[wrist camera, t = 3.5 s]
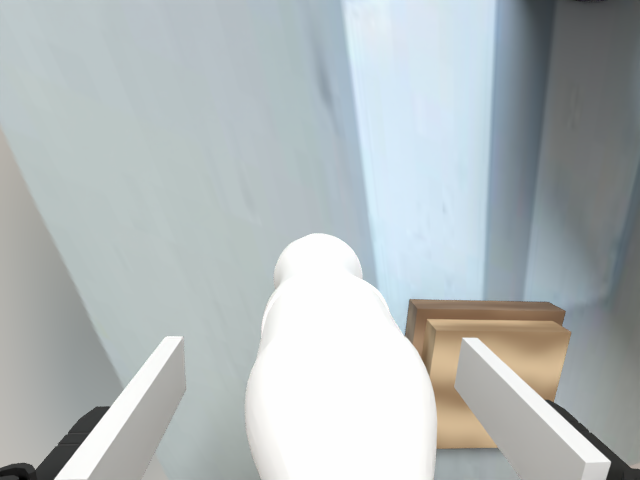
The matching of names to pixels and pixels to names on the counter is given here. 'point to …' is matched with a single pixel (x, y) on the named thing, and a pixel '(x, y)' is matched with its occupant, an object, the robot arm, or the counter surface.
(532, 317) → the walnut slab
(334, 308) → the water bottle
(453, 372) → the oak slab
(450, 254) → the counter surface
